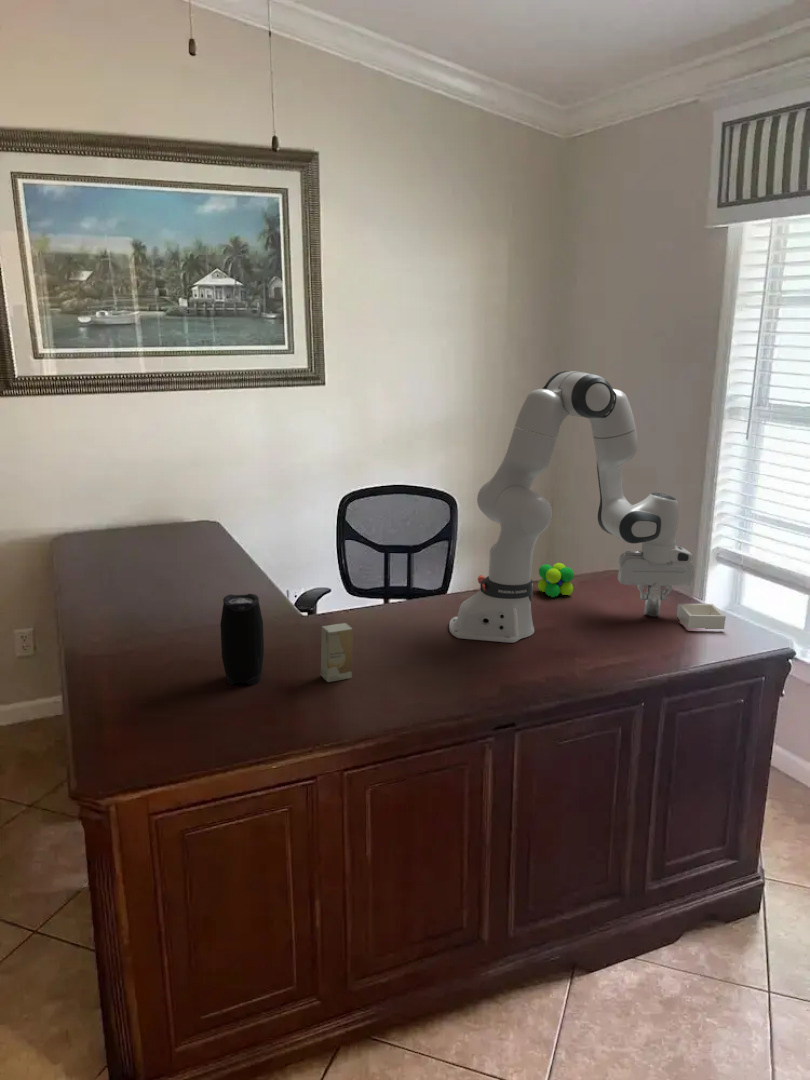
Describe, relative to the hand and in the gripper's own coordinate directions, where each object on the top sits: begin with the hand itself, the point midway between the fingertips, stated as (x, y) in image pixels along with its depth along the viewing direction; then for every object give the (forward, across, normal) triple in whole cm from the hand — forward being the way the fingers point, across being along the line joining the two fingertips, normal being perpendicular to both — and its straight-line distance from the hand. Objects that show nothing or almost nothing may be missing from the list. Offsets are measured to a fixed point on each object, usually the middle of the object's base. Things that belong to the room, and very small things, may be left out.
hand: (653, 599), depth 239 cm
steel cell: (+4, 0, 0) cm, 4 cm away
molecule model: (+5, -24, +18) cm, 30 cm away
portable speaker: (+6, -106, -45) cm, 115 cm away
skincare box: (+6, -85, -43) cm, 95 cm away
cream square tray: (+5, +11, -7) cm, 14 cm away
